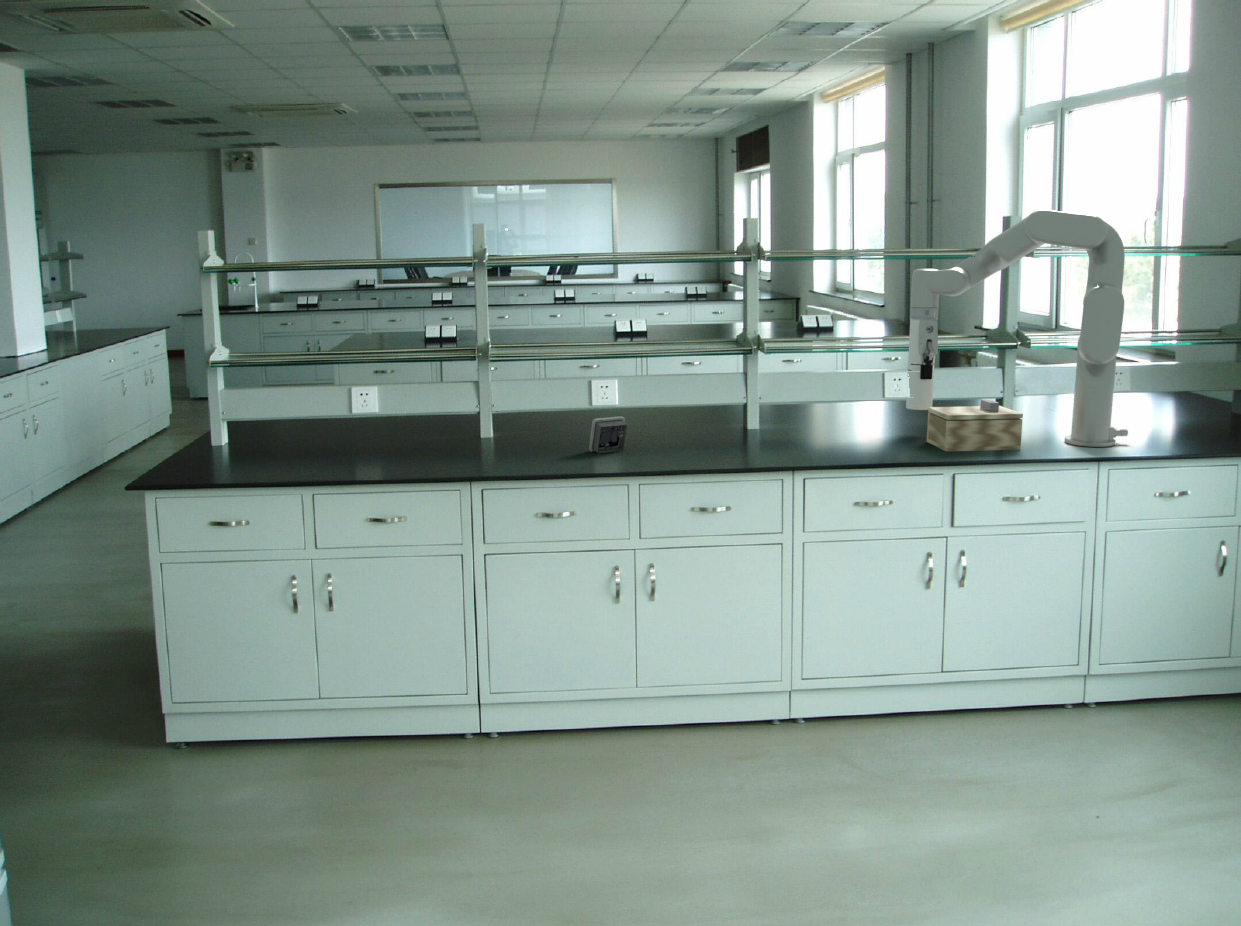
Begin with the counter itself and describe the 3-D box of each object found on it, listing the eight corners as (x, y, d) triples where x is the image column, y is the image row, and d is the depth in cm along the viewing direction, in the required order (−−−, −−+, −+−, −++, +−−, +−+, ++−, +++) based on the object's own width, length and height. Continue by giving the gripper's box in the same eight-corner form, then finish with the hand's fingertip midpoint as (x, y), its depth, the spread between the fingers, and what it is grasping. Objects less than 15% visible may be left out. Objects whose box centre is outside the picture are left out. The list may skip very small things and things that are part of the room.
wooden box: (997, 439, 294) (999, 411, 292) (1020, 449, 280) (1022, 419, 279) (926, 441, 292) (928, 412, 291) (946, 451, 279) (947, 421, 277)
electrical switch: (619, 448, 288) (620, 414, 285) (628, 453, 284) (629, 419, 281) (588, 451, 284) (589, 417, 281) (597, 456, 279) (598, 422, 277)
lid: (999, 410, 292) (1000, 396, 292) (1022, 418, 279) (1023, 404, 278) (928, 411, 291) (928, 398, 290) (947, 420, 277) (948, 406, 276)
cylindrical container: (921, 410, 298) (925, 320, 293) (900, 407, 304) (904, 319, 298) (937, 408, 302) (942, 319, 297) (916, 405, 308) (921, 317, 303)
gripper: (949, 315, 289) (945, 381, 293) (926, 311, 306) (922, 373, 310) (922, 316, 289) (918, 381, 292) (900, 312, 306) (897, 373, 309)
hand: (920, 376), depth 301 cm, fingers closed on cylindrical container, 7 cm apart
